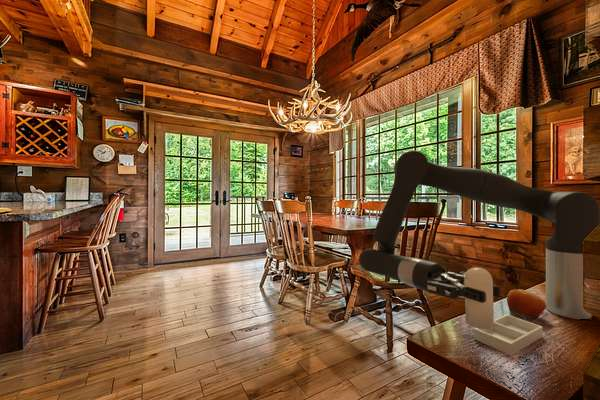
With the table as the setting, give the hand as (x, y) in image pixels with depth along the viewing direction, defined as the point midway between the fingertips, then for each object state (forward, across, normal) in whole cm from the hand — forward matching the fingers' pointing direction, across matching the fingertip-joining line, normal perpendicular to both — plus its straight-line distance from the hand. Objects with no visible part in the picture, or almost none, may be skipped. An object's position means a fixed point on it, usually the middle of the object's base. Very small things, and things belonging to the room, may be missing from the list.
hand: (492, 294), depth 55 cm
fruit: (-5, +27, +13) cm, 30 cm away
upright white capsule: (-3, 0, +7) cm, 7 cm away
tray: (-2, +10, +13) cm, 17 cm away
